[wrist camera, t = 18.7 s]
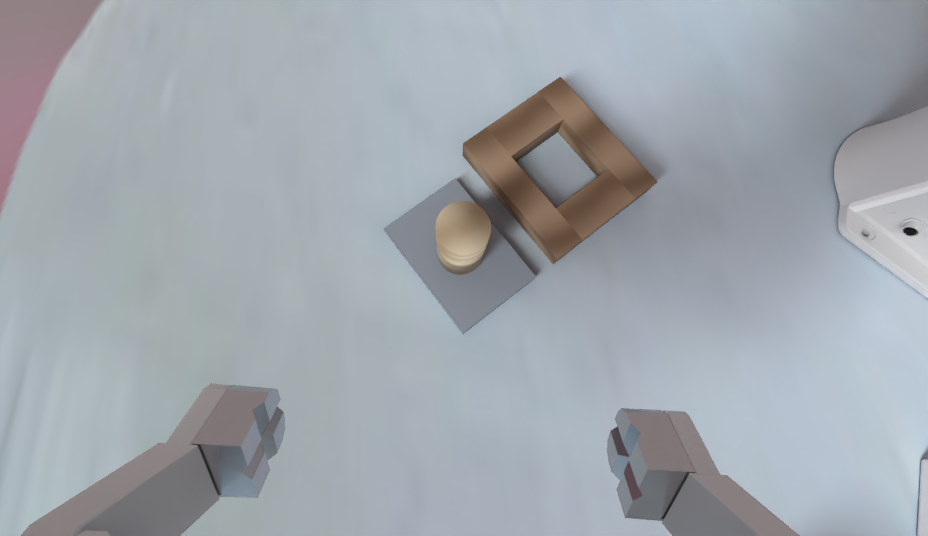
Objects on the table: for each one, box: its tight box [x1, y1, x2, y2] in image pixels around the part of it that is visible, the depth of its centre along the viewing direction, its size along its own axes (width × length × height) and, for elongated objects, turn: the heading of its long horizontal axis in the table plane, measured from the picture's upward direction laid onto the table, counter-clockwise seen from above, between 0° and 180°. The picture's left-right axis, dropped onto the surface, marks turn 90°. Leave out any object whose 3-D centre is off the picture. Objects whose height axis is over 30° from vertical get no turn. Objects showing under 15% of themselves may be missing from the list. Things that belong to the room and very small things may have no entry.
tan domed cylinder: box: [435, 201, 491, 275], centre depth 39 cm, size 4×4×8 cm
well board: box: [463, 77, 657, 264], centre depth 45 cm, size 15×13×2 cm
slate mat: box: [384, 178, 536, 334], centre depth 43 cm, size 13×9×1 cm
